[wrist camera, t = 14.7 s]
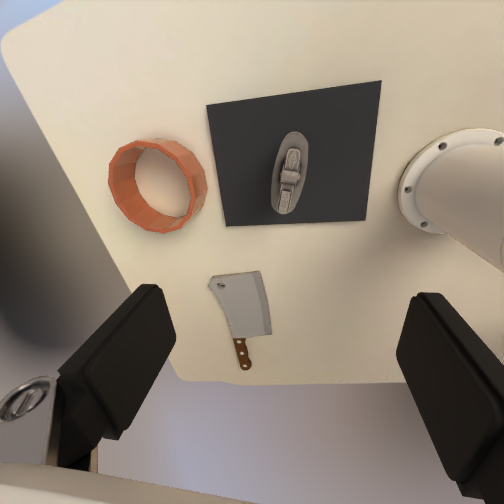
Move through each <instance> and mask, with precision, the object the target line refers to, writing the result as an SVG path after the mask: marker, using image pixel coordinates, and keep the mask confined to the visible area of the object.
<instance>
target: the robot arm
mask: <svg viewBox="0 0 504 504" xmlns="http://www.w3.org/2000/svg"><path fill="white" fill-rule="evenodd" d="M494 141H495V142H494ZM439 144H440V145H441V146H440V147H439V148H438V146H439ZM406 187H407V189H406V190H404V189H405V188H406ZM398 203H399V208H400V210H401V212H402V214H403V216H404V217H405V218H406V219H407V220H408V221H409V222H410V223H411V224H412V225H413V226H415V227H416V228H418V229H420V230H422V231H426V232H429V233H435V234H449V235H450V236H452V237H453V238H455V239H456V240H457V241H459V242H460V243H462V244H463V245H465V246H466V247H467V248H469V249H470V250H472V251H473V252H475V253H476V254H477V255H479V256H480V257H482V258H483V259H485V260H486V261H487V262H489V263H490V264H492V265H493V266H495V267H496V268H497V269H499V270H500V271H502V272H503V273H504V134H503V133H501V132H499V131H496V130H491V129H486V128H472V129H463V130H459V131H456V132H452V133H449V134H447V135H445V136H443V137H440V138H438V139H437V140H435V141H434V142H432V143H430V144H429V145H427V146H426V147H425V148H424V149H423V150H422V151H420V152H419V153H418V154H417V155H416V157H415V158H414V159H413V160H412V161H411V162H410V164H409V165H408V167H407V168H406V170H405V172H404V174H403V176H402V178H401V181H400V184H399V189H398ZM175 342H176V333H175V330H174V326H173V323H172V320H171V317H170V313H169V310H168V307H167V304H166V300H165V297H164V294H163V291H162V289H161V288H159V287H158V285H156V284H141V285H140V286H139V287H138V288H137V289H136V290H135V291H134V292H133V293H132V294H131V295H130V296H129V297H128V298H127V299H126V300H125V301H124V303H122V305H120V307H119V308H118V309H117V310H116V311H115V312H114V313H113V314H112V315H111V316H110V317H109V318H108V319H107V320H106V321H105V322H104V323H103V324H102V325H101V326H100V327H99V328H98V329H97V330H96V331H95V332H94V334H92V335H91V336H90V338H89V339H88V340H87V341H86V342H85V343H84V344H83V345H82V346H81V347H80V348H79V349H78V350H77V351H76V352H75V353H74V354H73V355H72V356H71V357H70V358H69V359H68V360H67V361H66V362H65V363H64V364H63V365H62V366H61V367H60V368H59V369H58V372H59V374H60V377H59V378H58V379H57V380H55V379H54V378H53V377H51V376H39V377H36V378H33V379H31V380H28V381H27V382H25V383H23V384H21V385H19V386H18V387H16V388H15V389H14V390H12V391H11V392H10V393H9V394H7V395H6V396H5V397H4V398H3V399H2V400H1V401H0V504H257V503H252V502H246V501H241V500H236V499H231V498H226V497H220V496H215V495H210V494H205V493H199V492H194V491H189V490H184V489H178V488H173V487H167V486H162V485H157V484H151V483H146V482H141V481H135V480H130V479H124V478H119V477H114V476H109V475H103V474H98V450H97V449H98V446H97V445H98V443H99V441H100V440H101V438H102V437H103V438H105V439H112V440H119V438H120V436H121V434H122V433H123V431H124V430H126V429H128V428H129V426H130V425H131V423H132V421H133V419H134V417H135V416H136V414H137V412H138V410H139V408H140V407H141V405H142V403H143V401H144V399H145V398H146V396H147V394H148V392H149V390H150V388H151V387H152V385H153V383H154V381H155V379H156V378H157V376H158V374H159V372H160V370H161V368H162V367H163V365H164V363H165V361H166V359H167V357H168V356H169V354H170V352H171V350H172V348H173V347H174V345H175ZM396 357H397V361H398V364H399V366H400V368H401V370H402V373H403V375H404V377H405V380H406V382H407V384H408V387H409V389H410V391H411V393H412V396H413V398H414V400H415V402H416V405H417V407H418V409H419V412H420V414H421V416H422V419H423V421H424V423H425V426H426V428H427V430H428V432H429V435H430V437H431V439H432V442H433V444H434V446H435V449H436V451H437V453H438V455H439V457H440V460H441V462H442V464H443V467H444V469H445V471H446V473H447V475H448V477H449V478H450V479H451V480H453V481H456V483H457V485H458V487H459V490H460V492H461V494H462V496H465V497H471V498H477V499H483V500H484V502H485V504H504V365H503V364H502V363H501V362H500V361H499V359H498V358H497V357H496V356H495V355H494V354H493V353H492V351H491V350H490V349H489V348H488V347H487V346H486V344H485V343H484V342H483V341H482V340H481V339H480V338H479V336H478V335H477V334H476V333H475V332H474V331H473V330H472V328H471V327H470V326H469V325H468V324H467V323H466V322H465V320H464V319H463V318H462V317H461V316H460V315H459V313H458V312H457V311H456V310H455V309H454V308H453V307H452V305H451V304H450V303H449V302H448V301H447V300H446V299H445V297H444V296H443V295H442V294H440V293H425V292H420V293H418V294H417V296H414V297H412V298H411V301H410V304H409V308H408V311H407V315H406V318H405V322H404V325H403V329H402V332H401V336H400V339H399V343H398V346H397V350H396Z"/></svg>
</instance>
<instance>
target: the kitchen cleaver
mask: <svg viewBox="0 0 504 504" xmlns="http://www.w3.org/2000/svg"><path fill="white" fill-rule="evenodd" d="M219 282H222V283H224V285H225V286H220V285H219V284H218V283H219ZM208 286H209V288H210V289H211V290H212V292H213V293H214V294H215V295H216V297H217V299H218V300H219V302H220V304H221V306H222V308H223V310H224V312H225V315H226V317H227V320H228V322H229V326H230V329H231V332H232V336H233V340H234V344H235V348H236V352H237V356H238V360H239V363H240V367H241V369H242V370H249V369H250V368H251V361H250V360H249V359H248V352H247V347H246V346H245V338H248V337H255V336H262V335H271V334H272V332H271V323H270V315H269V307H268V301H267V297H266V293H265V289H264V285H263V281H262V277H261V274H260V272H259V271H254V272H247V273H238V274H229V275H220V276H213V277H212V279H211V281H210V283H209V285H208Z"/></svg>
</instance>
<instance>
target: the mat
mask: <svg viewBox="0 0 504 504" xmlns="http://www.w3.org/2000/svg"><path fill="white" fill-rule="evenodd" d="M381 82H382V81H381V80H380V81H373V82H366V83H359V84H352V85H345V86H338V87H331V88H324V89H317V90H310V91H303V92H296V93H289V94H282V95H275V96H268V97H261V98H254V99H247V100H240V101H233V102H226V103H219V104H212V105H206V107H207V113H208V119H209V125H210V131H211V137H212V143H213V149H214V155H215V161H216V167H217V174H218V180H219V186H220V192H221V198H222V204H223V210H224V216H225V222H226V226H247V225H270V224H293V223H316V222H339V221H363V220H365V218H366V210H367V201H368V193H369V184H370V176H371V167H372V159H373V150H374V142H375V133H376V125H377V116H378V108H379V99H380V91H381ZM291 132H298V133H301V134H302V135H303V136H304V137H305V138H306V140H307V142H308V164H307V170H306V177H305V181H304V185H303V188H302V191H301V194H300V197H299V199H298V201H297V204H296V206H295V208H294V209H293V211H291V212H290V213H287V214H281V213H278V212H276V211H275V210H274V209H273V207H272V204H271V185H272V175H273V170H274V166H275V162H276V158H277V155H278V152H279V149H280V146H281V144H282V141H283V140H284V138H285V137H286V135H288V134H289V133H291Z"/></svg>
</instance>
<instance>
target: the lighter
mask: <svg viewBox="0 0 504 504" xmlns="http://www.w3.org/2000/svg"><path fill="white" fill-rule="evenodd" d="M307 164H308V142H307V140H306V138H305V137H304V136H303V135H302V134H301V133H298V132H291V133H289V134H288V135H286V137H285V138H284V140H283V141H282V144H281V146H280V149H279V152H278V155H277V158H276V162H275V166H274V170H273V175H272V185H271V204H272V207H273V209H274V210H275V211H276V212H278V213H281V214H287V213H290V212H291V211H293V209H294V208H295V206H296V204H297V201H298V199H299V197H300V194H301V191H302V188H303V185H304V181H305V177H306V170H307Z"/></svg>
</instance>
